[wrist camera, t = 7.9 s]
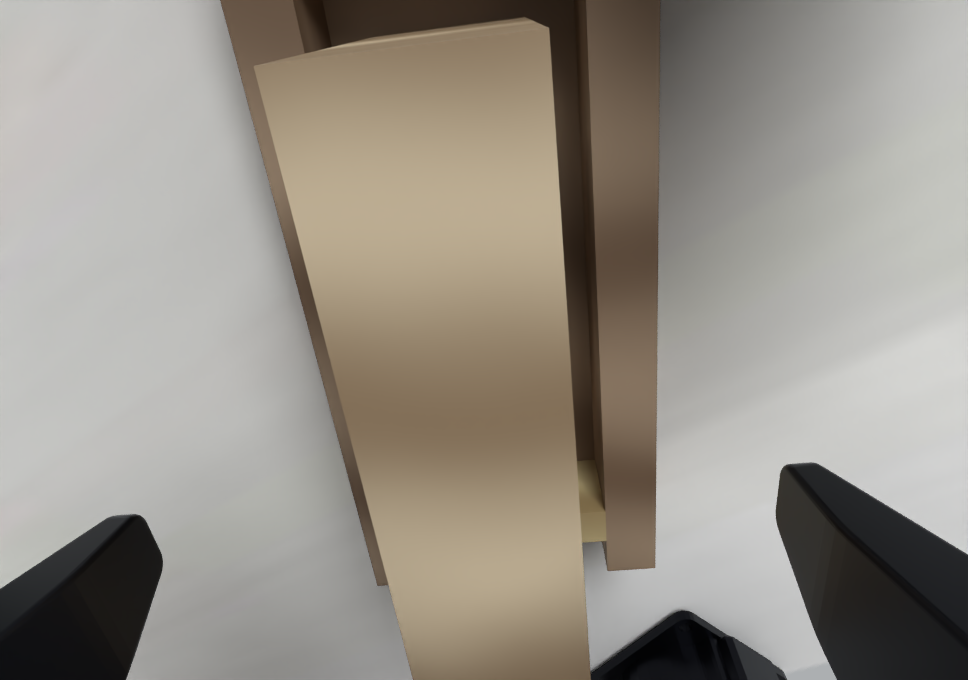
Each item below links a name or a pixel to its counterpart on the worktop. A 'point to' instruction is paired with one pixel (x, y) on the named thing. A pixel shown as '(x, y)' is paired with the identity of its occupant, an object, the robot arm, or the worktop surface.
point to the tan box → (447, 330)
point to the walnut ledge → (584, 214)
